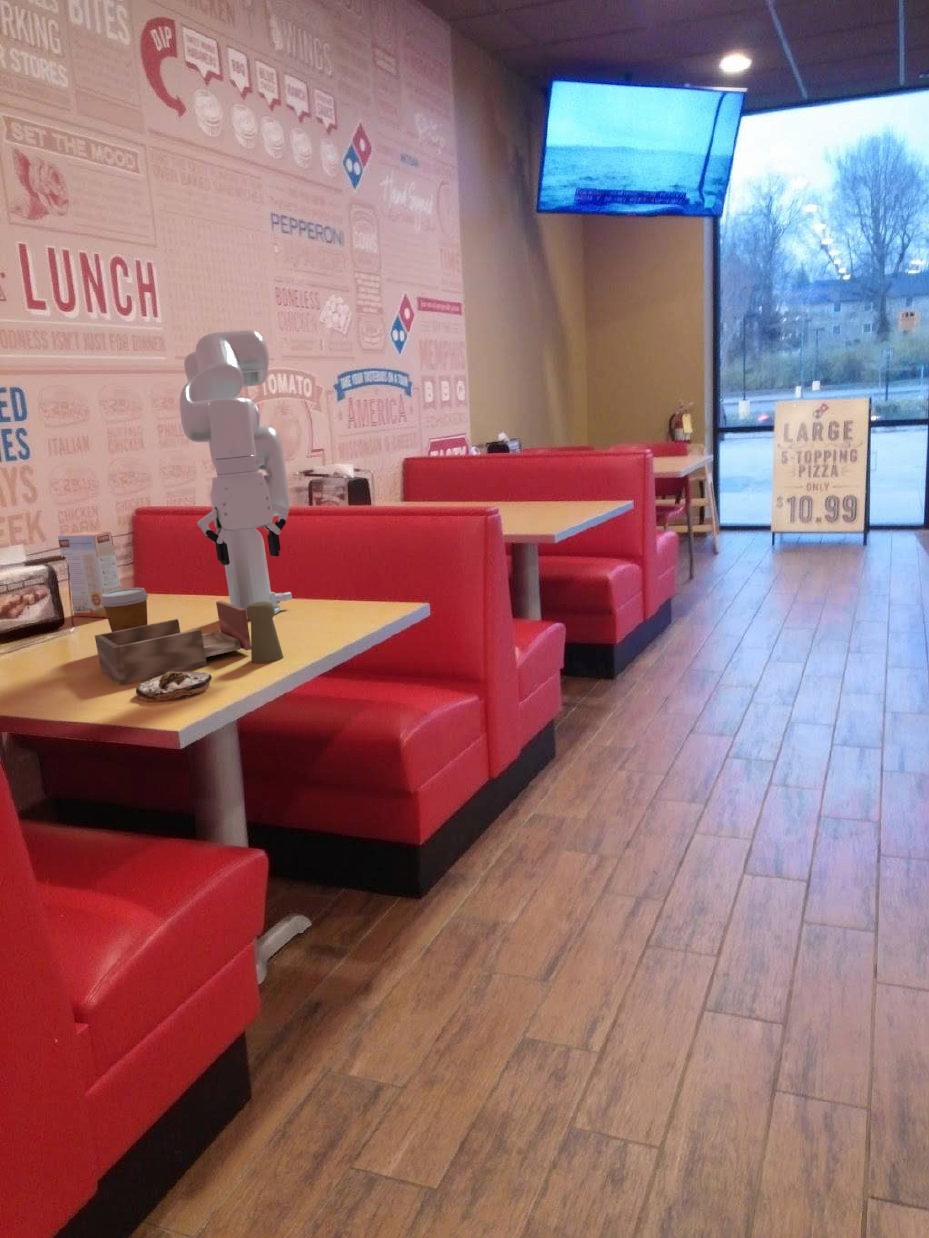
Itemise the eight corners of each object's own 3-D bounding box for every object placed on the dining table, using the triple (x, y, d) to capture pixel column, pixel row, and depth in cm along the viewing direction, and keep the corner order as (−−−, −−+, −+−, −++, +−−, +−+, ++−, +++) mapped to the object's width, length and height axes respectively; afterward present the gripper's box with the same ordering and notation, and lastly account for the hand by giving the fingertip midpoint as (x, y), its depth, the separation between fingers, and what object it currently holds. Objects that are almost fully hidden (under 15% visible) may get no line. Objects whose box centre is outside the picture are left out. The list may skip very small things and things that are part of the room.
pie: (184, 677, 180) (180, 655, 179) (237, 685, 171) (233, 662, 170) (113, 701, 169) (109, 678, 168) (166, 711, 160) (162, 687, 159)
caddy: (182, 652, 198) (176, 618, 196) (206, 665, 185) (201, 629, 184) (101, 670, 189) (94, 635, 188) (121, 685, 177) (114, 647, 175)
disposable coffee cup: (165, 641, 209) (156, 586, 206) (137, 653, 200) (127, 596, 198) (128, 642, 212) (119, 587, 210) (99, 653, 204) (89, 597, 201)
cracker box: (127, 613, 246) (112, 530, 241) (107, 618, 241) (91, 534, 236) (91, 611, 254) (76, 531, 249) (71, 616, 249) (56, 535, 244)
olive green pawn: (276, 662, 182) (268, 605, 180) (246, 664, 184) (237, 606, 181) (288, 654, 188) (280, 598, 186) (258, 655, 189) (250, 599, 187)
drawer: (227, 638, 202) (221, 600, 200) (252, 649, 190) (246, 609, 188) (150, 655, 194) (143, 615, 192) (171, 667, 182) (164, 626, 180)
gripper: (273, 462, 186) (286, 551, 189) (184, 473, 177) (198, 566, 181) (289, 462, 180) (301, 554, 183) (196, 473, 171) (211, 569, 174)
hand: (250, 559), depth 182 cm, fingers open, 9 cm apart
